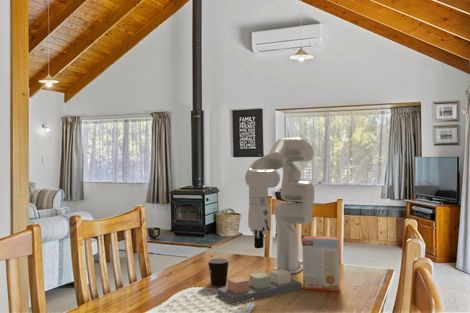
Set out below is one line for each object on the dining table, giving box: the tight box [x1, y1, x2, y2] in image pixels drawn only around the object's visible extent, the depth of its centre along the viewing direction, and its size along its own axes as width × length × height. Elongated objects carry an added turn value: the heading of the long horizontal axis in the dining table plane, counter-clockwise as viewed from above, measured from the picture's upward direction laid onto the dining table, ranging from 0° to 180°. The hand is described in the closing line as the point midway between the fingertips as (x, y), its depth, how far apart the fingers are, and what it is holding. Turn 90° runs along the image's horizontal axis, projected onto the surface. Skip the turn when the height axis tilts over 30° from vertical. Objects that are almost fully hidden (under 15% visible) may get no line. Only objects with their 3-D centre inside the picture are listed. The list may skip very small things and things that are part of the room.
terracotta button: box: [227, 276, 250, 294], centre depth 167 cm, size 6×6×5 cm
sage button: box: [249, 272, 271, 289], centre depth 173 cm, size 6×6×5 cm
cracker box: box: [301, 235, 340, 293], centre depth 175 cm, size 14×6×21 cm, turn 71°
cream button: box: [269, 269, 292, 285], centre depth 178 cm, size 6×6×5 cm
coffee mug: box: [207, 257, 229, 288], centre depth 185 cm, size 12×9×10 cm
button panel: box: [216, 278, 302, 304], centre depth 173 cm, size 32×12×2 cm, turn 120°
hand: (258, 247), depth 173 cm, fingers closed
